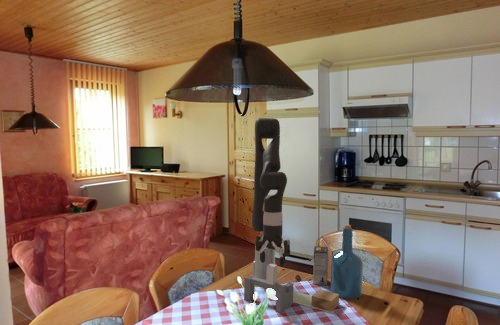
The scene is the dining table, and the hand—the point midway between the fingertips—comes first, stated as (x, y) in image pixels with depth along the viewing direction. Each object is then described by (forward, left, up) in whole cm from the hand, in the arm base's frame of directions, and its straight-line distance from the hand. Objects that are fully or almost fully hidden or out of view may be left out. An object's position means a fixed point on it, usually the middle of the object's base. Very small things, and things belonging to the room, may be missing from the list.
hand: (272, 264), depth 140 cm
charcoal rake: (-2, 0, -17) cm, 17 cm away
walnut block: (+18, +11, -16) cm, 26 cm away
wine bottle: (+20, +28, -17) cm, 38 cm away
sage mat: (+12, +11, -17) cm, 23 cm away
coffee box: (+6, +34, -17) cm, 38 cm away
